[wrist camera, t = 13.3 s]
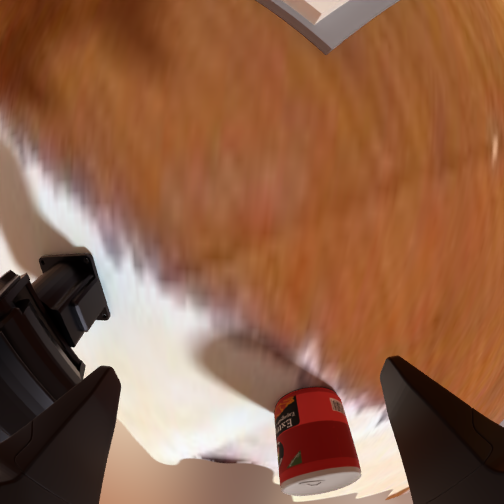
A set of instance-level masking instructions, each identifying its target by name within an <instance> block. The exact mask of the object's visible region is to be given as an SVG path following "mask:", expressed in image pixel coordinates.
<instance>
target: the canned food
mask: <svg viewBox="0 0 504 504" xmlns="http://www.w3.org/2000/svg"><path fill="white" fill-rule="evenodd" d="M274 416H275V428H276V441H277V453H278V465H279V477H280V486H281V490H282V492H283V493H285V494H288V495H295V496H305V495H315V494H321V493H326V492H330V491H334V490H337V489H340V488H343V487H345V486H348V485H350V484H352V483H354V482H355V481H357V480H358V479H359V478H360V477H361V469H360V465H359V460H358V457H357V453H356V449H355V446H354V442H353V439H352V435H351V432H350V429H349V425H348V422H347V418H346V415H345V412H344V408H343V405H342V402H341V399H340V398H339V397H338V395H337V394H336V393H335V392H334V391H332V390H330V389H327V388H321V387H310V388H304V389H300V390H296V391H294V392H291V393H289V394H287V395H285V396H284V397H283V398H281V399H280V400H279V401H278V403H277V405H276V408H275V412H274Z"/></svg>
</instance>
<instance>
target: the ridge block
mask: <svg viewBox="0 0 504 504" xmlns="http://www.w3.org/2000/svg"><path fill="white" fill-rule="evenodd" d="M256 1H257V2H259V3H260V4H262V5H263V6H265V7H266V8H268V9H269V10H271V11H272V12H274V13H275V14H276V15H278V16H279V17H280V18H282V19H283V20H285V21H286V22H287V23H288V24H290V25H291V26H292V27H294V28H295V29H296V30H297V31H299V32H300V33H301V34H302V35H304V36H305V37H306V38H307V39H308V40H310V41H311V42H312V43H313V44H314V45H315V46H316V47H318V48H319V49H320V50H321V51H322V52H323V53H324V54H325V55H327V54H328V53H329V52H330V51H332V50H333V49H334V48H335V47H337V46H338V45H339V44H340V43H342V42H343V41H344V40H345V39H347V38H348V37H349V36H350V35H352V34H353V33H354V32H356V31H357V30H358V29H360V28H361V27H362V26H364V25H365V24H366V23H368V22H369V21H370V20H372V19H373V18H375V17H376V16H377V15H379V14H380V13H382V12H383V11H384V10H386V9H387V8H389V7H390V6H392V5H393V4H395V3H396V2H398V1H399V0H256Z"/></svg>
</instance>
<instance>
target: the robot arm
mask: <svg viewBox="0 0 504 504" xmlns="http://www.w3.org/2000/svg"><path fill="white" fill-rule="evenodd" d="M86 258H87V259H88V260H89V261H87V259H86ZM44 262H45V263H44ZM39 263H40V266H41V269H42V272H43V274H42V275H41V276H40V277H39V278H38V279H36V280H35V281H34V282H33V283H32V284H31V282H30V281H29V280H30V278H29V276H28V274H27V273H25V274H23V275H21V276H18V274H17V275H16V274H15V273H14V272H12V271H11V270H10V271H8V272H6V273H5V274H4V275H3V276H1V277H0V504H99V499H100V493H101V488H102V482H103V477H104V472H105V467H106V463H107V458H108V454H109V449H110V445H111V440H112V437H113V432H114V428H115V423H116V417H117V410H118V404H119V397H120V391H121V383H120V381H119V379H118V377H117V375H116V373H115V371H114V369H113V368H112V367H110V366H100V367H98V368H97V369H96V370H95V371H93V372H92V373H91V374H90V375H88V376H87V377H86V378H84V379H83V376H84V371H85V364H84V363H83V362H82V360H80V359H79V358H78V357H77V355H76V354H75V353H74V351H73V350H72V349H71V347H75V346H76V344H77V343H78V341H79V340H80V338H81V337H82V335H83V334H84V332H88V330H89V329H90V327H91V326H92V324H93V323H94V321H95V320H108V319H109V318H110V312H109V309H108V306H107V302H106V299H105V296H104V293H103V289H102V286H101V283H100V280H99V278H98V274H97V271H96V267H95V263H94V260H93V257H92V256H91V255H90V254H88V253H84V254H66V255H48V256H42V257H41V258H40V259H39ZM104 314H105V315H106V316H105V315H104ZM380 381H381V385H382V389H383V394H384V398H385V403H386V408H387V412H388V417H389V420H390V423H391V426H392V429H393V432H394V436H395V439H396V442H397V445H398V449H399V452H400V455H401V459H402V462H403V466H404V469H405V473H406V476H407V480H408V484H409V488H410V492H411V496H412V500H413V504H504V427H502V426H500V425H498V424H497V423H495V422H493V421H492V420H490V419H488V418H487V417H485V416H484V415H482V414H481V413H479V412H478V411H476V410H475V409H474V408H471V406H469V405H468V404H466V403H465V402H464V401H462V400H461V399H459V398H458V397H457V396H455V395H454V394H452V393H451V392H449V391H448V390H447V389H445V388H444V387H442V386H441V385H440V384H438V383H437V382H435V381H434V380H432V379H431V378H430V377H428V376H427V375H425V374H424V373H423V372H421V371H420V370H418V369H417V368H415V367H414V366H413V365H411V364H410V363H408V362H407V361H406V360H404V359H403V358H401V357H400V356H392V357H388V358H387V359H386V361H385V363H384V366H383V368H382V371H381V374H380Z"/></svg>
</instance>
